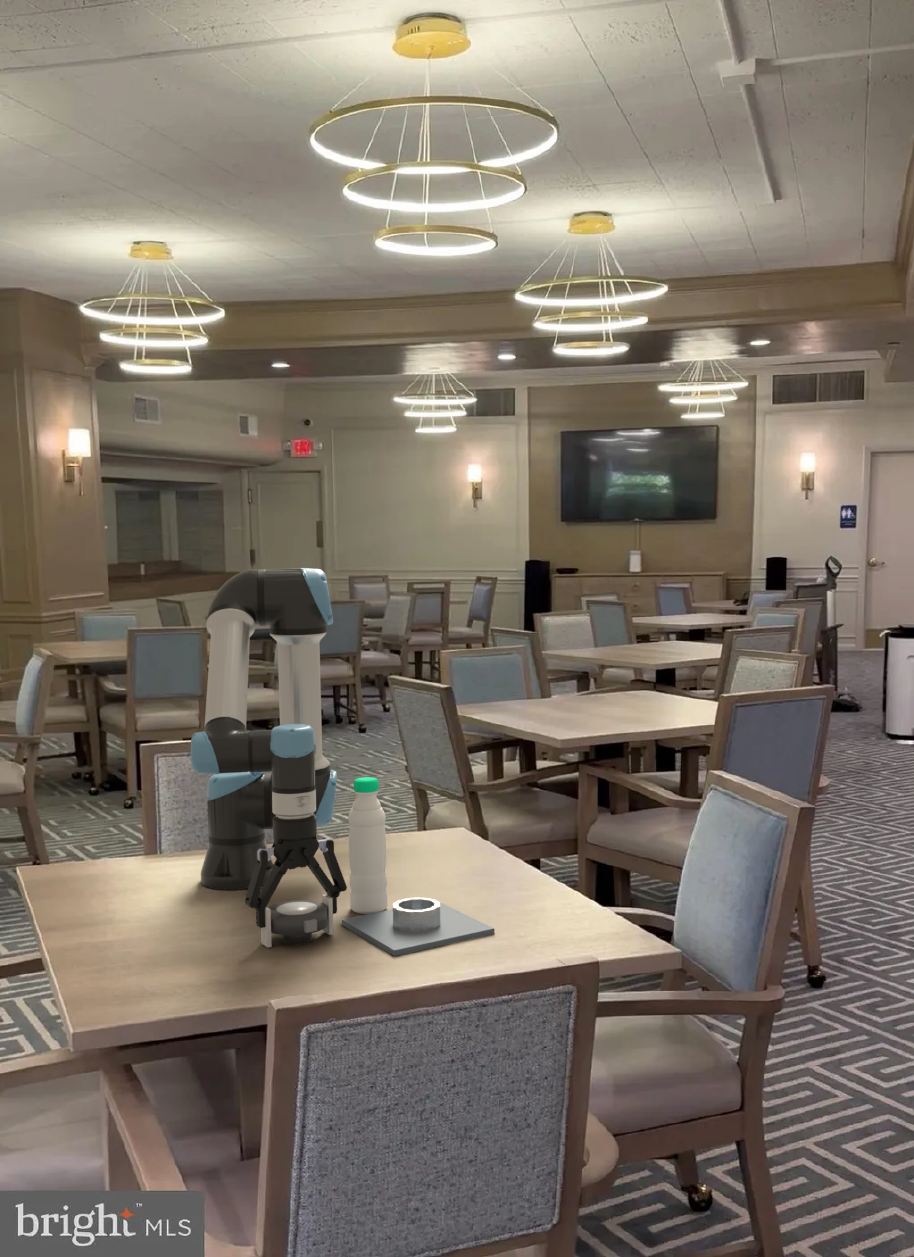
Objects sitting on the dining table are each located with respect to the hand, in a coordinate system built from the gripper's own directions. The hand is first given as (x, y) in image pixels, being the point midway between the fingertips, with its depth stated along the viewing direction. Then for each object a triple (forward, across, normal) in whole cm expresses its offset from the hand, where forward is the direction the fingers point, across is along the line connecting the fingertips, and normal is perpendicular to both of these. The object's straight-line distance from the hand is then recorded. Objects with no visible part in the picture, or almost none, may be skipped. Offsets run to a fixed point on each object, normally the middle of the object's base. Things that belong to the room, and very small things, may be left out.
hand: (297, 938), depth 198 cm
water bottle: (0, +18, +9) cm, 20 cm away
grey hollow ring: (0, +20, -7) cm, 21 cm away
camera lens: (0, 0, 0) cm, 0 cm away
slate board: (0, +20, -7) cm, 21 cm away
